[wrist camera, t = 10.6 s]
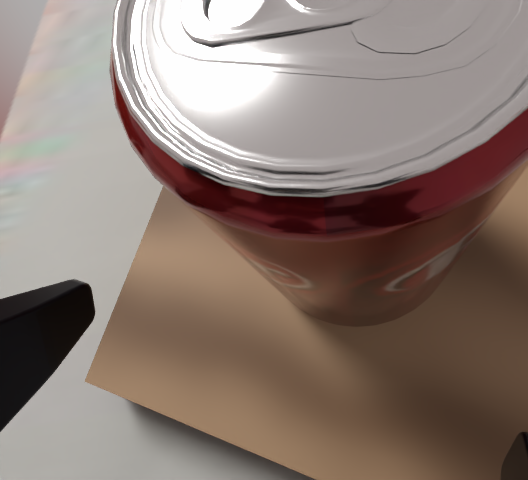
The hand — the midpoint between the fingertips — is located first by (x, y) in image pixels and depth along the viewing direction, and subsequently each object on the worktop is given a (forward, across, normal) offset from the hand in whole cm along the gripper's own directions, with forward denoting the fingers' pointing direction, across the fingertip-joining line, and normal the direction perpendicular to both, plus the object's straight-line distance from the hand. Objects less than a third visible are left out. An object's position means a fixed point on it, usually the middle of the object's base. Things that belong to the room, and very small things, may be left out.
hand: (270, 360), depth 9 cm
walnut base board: (+11, 0, +3) cm, 12 cm away
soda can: (+10, 0, +2) cm, 10 cm away
